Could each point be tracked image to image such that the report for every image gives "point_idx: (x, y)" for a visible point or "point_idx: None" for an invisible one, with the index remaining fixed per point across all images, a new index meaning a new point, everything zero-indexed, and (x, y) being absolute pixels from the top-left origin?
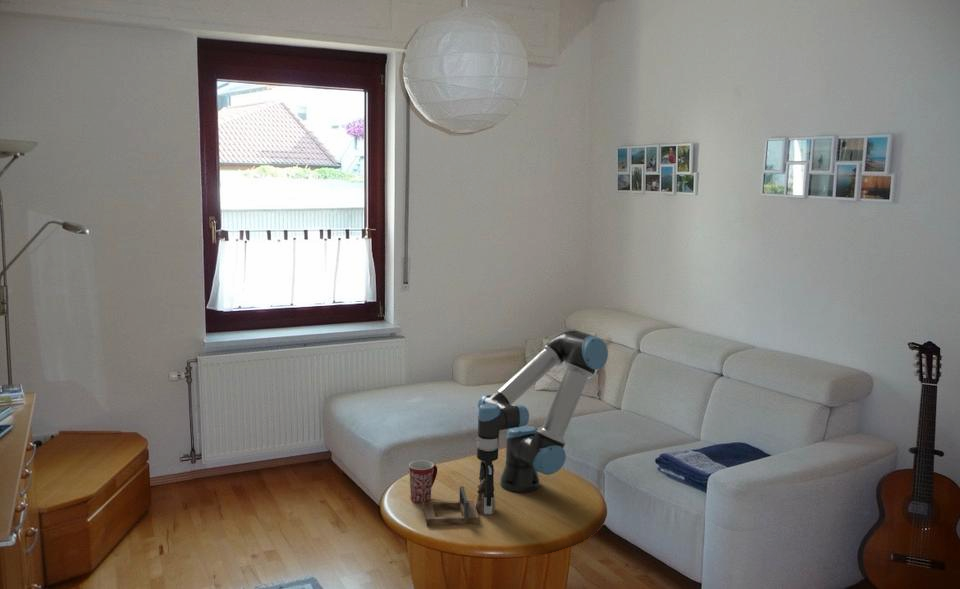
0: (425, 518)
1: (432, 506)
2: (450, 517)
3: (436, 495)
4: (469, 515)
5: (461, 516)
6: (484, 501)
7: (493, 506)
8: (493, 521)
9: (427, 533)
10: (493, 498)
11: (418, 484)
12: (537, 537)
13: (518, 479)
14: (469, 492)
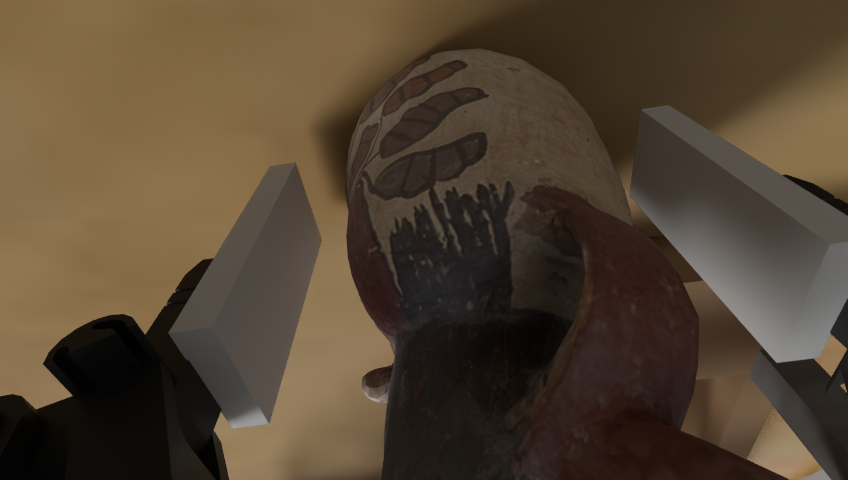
0: None
1: None
2: (736, 443)
3: (230, 475)
4: (751, 339)
5: (746, 388)
6: (726, 289)
7: (572, 98)
8: (769, 71)
9: (782, 471)
10: (571, 144)
11: None
12: None
13: None
14: (52, 309)
